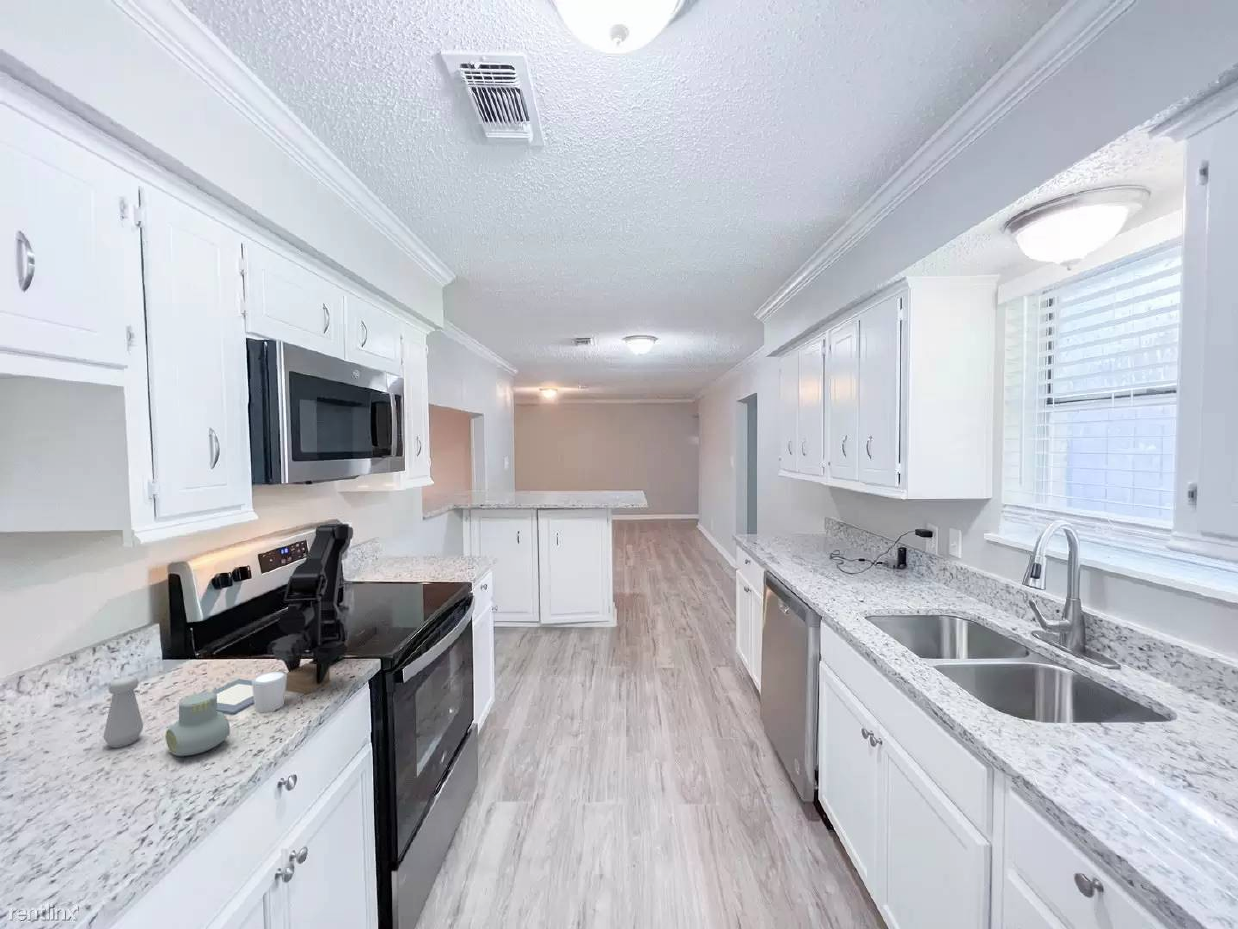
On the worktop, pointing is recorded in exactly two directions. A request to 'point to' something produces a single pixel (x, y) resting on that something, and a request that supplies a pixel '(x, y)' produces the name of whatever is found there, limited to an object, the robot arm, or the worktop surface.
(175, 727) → the air freshener
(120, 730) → the salt shaker
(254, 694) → the white cup
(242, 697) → the board
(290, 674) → the walnut block
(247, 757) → the worktop surface
